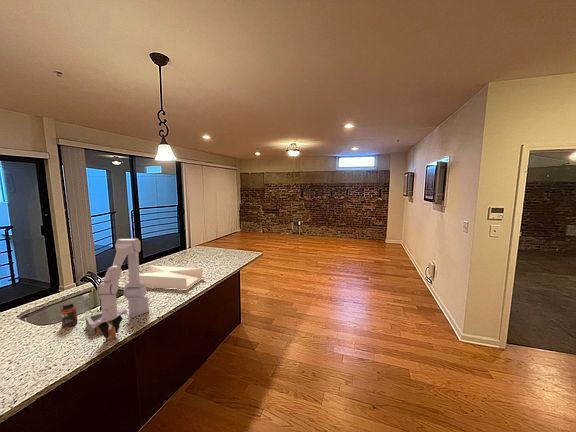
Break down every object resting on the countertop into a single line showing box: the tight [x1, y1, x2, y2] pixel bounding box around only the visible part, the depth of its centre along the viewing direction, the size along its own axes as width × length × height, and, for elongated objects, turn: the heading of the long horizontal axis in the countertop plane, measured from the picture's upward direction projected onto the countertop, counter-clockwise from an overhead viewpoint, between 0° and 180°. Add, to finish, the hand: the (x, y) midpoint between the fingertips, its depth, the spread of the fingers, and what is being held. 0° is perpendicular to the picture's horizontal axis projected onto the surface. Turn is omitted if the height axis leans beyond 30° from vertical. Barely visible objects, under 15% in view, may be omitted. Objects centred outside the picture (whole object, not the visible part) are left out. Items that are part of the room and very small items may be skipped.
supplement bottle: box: [60, 301, 78, 328], centre depth 126 cm, size 6×6×11 cm
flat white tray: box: [139, 265, 203, 289], centre depth 184 cm, size 45×22×10 cm, turn 81°
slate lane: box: [85, 311, 112, 336], centre depth 125 cm, size 12×12×5 cm
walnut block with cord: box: [93, 321, 117, 341], centre depth 118 cm, size 5×16×5 cm, turn 55°
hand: (110, 334), depth 115 cm, fingers closed on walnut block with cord, 3 cm apart
